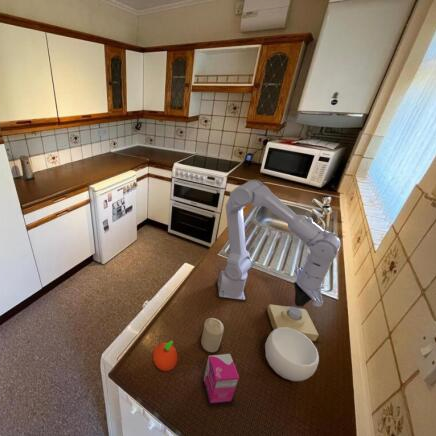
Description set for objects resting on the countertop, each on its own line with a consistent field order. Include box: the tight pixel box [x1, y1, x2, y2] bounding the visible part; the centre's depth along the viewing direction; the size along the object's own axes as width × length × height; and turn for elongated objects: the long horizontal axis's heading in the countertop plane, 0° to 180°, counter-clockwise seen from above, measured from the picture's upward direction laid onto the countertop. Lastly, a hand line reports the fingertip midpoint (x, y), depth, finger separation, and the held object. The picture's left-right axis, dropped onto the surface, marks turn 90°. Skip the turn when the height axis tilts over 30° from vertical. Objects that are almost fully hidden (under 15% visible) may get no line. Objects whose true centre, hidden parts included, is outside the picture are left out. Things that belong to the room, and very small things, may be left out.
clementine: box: [152, 340, 178, 372], centre depth 67 cm, size 8×7×7 cm
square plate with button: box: [266, 303, 319, 342], centre depth 79 cm, size 12×10×5 cm
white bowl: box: [264, 327, 320, 382], centre depth 66 cm, size 12×12×10 cm
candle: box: [200, 317, 225, 353], centre depth 71 cm, size 6×6×10 cm
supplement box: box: [203, 353, 240, 404], centre depth 60 cm, size 6×6×12 cm
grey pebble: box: [288, 306, 302, 320], centre depth 78 cm, size 4×4×2 cm
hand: (298, 304), depth 76 cm, fingers closed
